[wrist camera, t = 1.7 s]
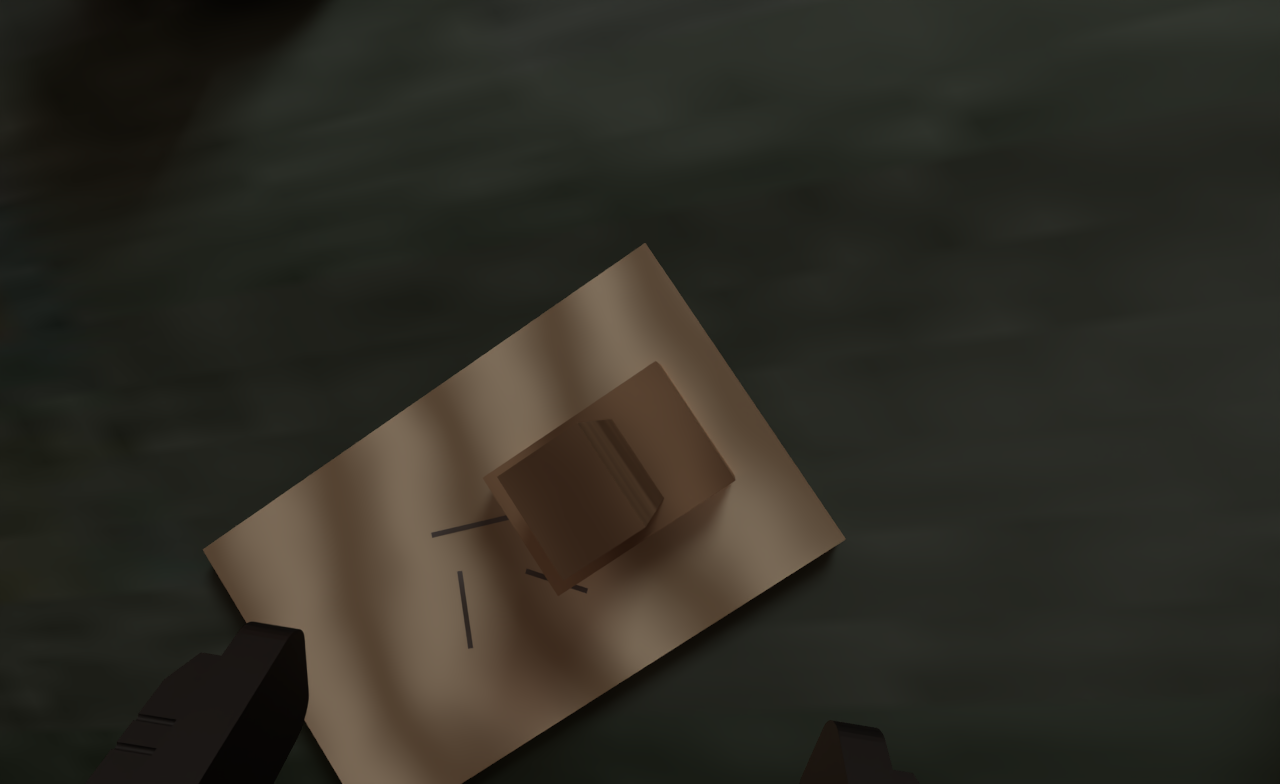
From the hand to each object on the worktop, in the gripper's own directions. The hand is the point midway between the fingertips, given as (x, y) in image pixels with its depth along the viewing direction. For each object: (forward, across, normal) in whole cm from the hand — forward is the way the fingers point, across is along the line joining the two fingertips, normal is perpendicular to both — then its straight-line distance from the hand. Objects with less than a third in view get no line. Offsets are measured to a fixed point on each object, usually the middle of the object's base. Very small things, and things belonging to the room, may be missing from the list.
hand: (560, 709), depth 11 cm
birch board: (+20, +4, +15) cm, 25 cm away
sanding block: (+20, 0, +10) cm, 23 cm away
